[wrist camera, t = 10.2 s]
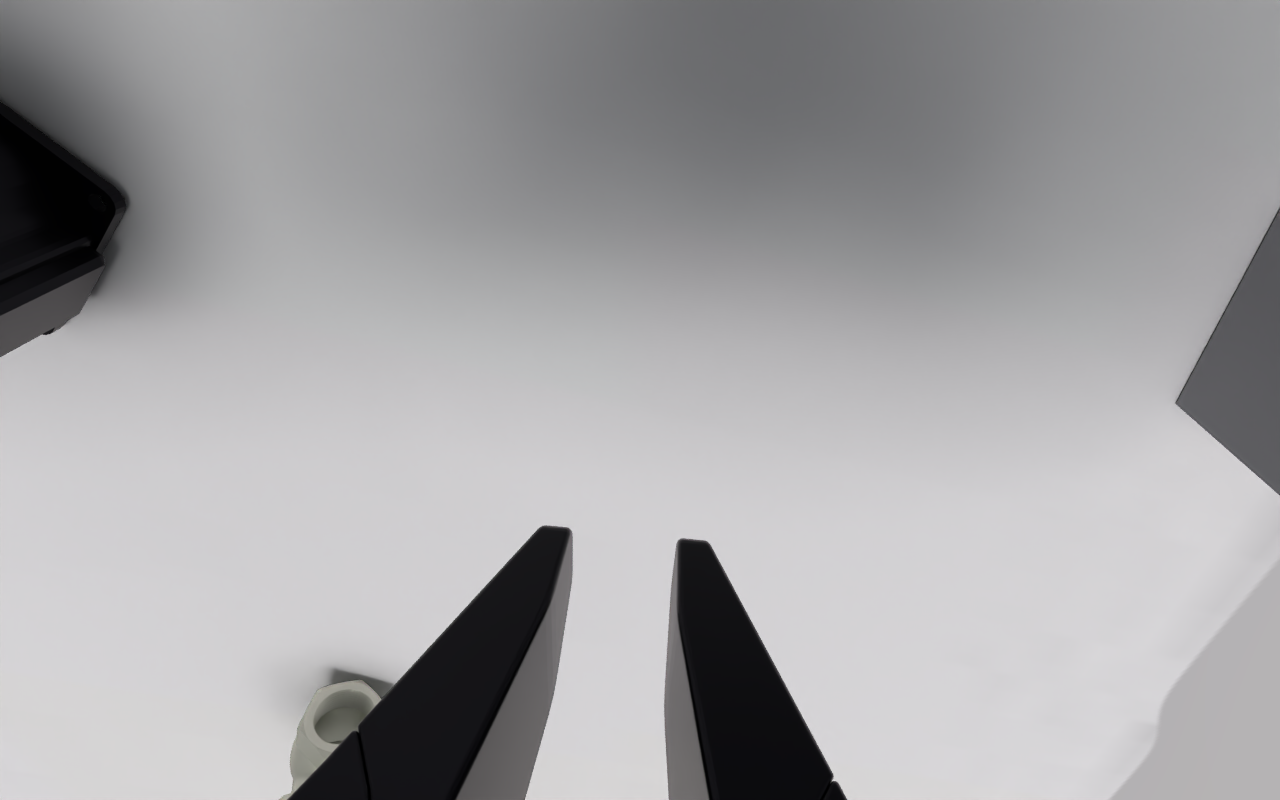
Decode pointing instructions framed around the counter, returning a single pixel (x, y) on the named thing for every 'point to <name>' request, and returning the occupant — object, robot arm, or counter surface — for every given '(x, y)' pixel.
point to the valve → (328, 725)
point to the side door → (1245, 369)
